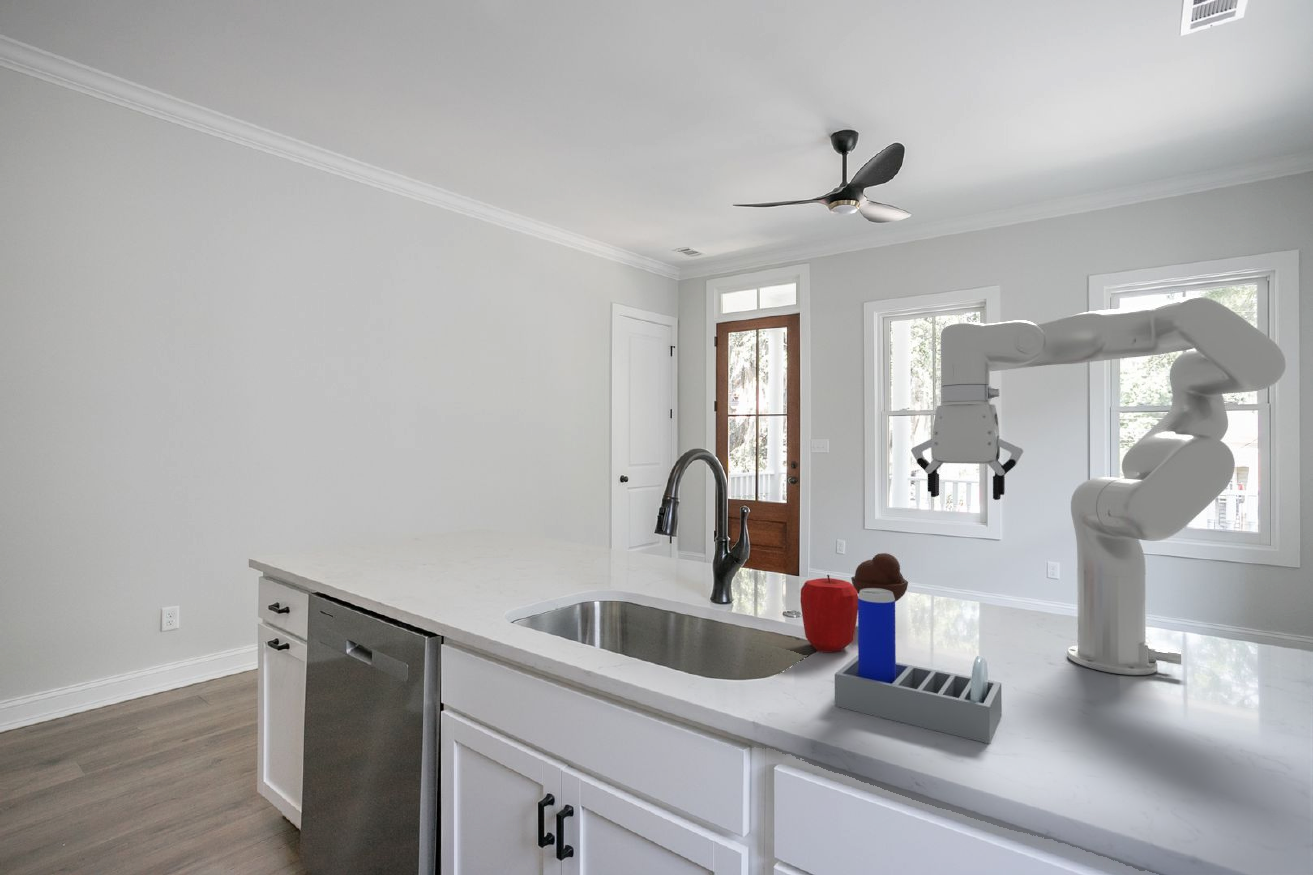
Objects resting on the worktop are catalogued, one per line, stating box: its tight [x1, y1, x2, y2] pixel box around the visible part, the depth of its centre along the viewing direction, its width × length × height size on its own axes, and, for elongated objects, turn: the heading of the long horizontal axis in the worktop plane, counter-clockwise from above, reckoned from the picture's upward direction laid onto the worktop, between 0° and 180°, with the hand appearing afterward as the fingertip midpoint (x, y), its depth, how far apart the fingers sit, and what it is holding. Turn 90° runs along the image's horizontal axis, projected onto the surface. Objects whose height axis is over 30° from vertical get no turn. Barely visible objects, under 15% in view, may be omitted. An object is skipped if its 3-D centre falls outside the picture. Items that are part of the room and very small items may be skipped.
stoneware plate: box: [971, 655, 989, 703], centre depth 87 cm, size 1×8×8 cm, turn 144°
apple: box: [799, 574, 859, 653], centre depth 119 cm, size 11×10×14 cm
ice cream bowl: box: [850, 552, 909, 603], centre depth 133 cm, size 11×11×15 cm
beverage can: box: [857, 588, 897, 684], centre depth 95 cm, size 5×5×15 cm
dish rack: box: [834, 654, 1003, 745], centre depth 91 cm, size 20×10×5 cm, turn 54°
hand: (965, 497), depth 110 cm, fingers open, 9 cm apart
